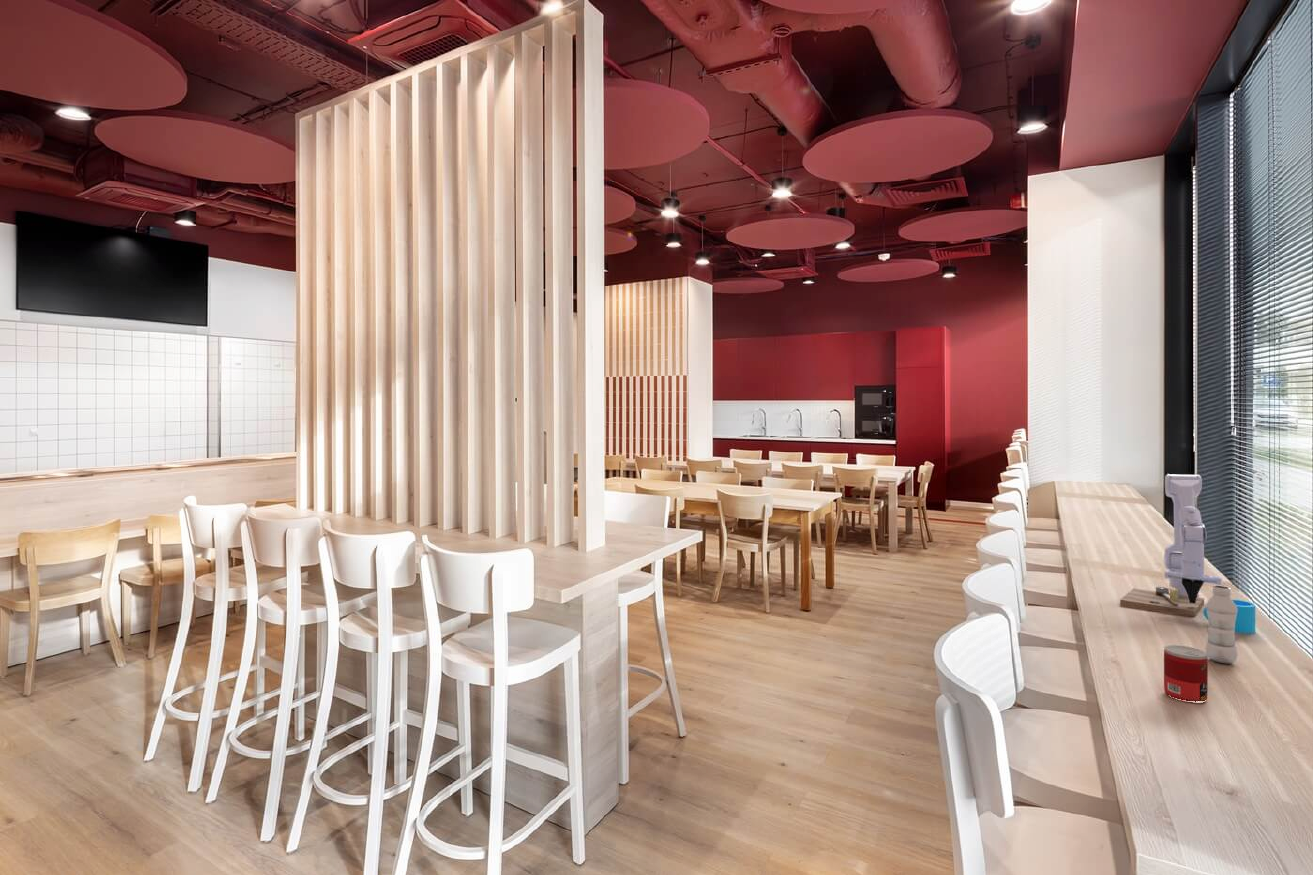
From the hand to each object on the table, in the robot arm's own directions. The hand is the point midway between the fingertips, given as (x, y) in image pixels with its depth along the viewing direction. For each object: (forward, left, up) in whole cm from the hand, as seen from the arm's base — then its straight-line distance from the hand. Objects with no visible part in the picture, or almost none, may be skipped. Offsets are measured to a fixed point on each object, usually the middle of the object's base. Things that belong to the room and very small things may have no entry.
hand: (1192, 602), depth 216 cm
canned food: (+81, +9, -4) cm, 82 cm away
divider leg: (-5, -7, -1) cm, 9 cm away
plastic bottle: (+48, +12, -4) cm, 50 cm away
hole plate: (-4, -9, -3) cm, 10 cm away
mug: (+12, +10, -4) cm, 16 cm away
